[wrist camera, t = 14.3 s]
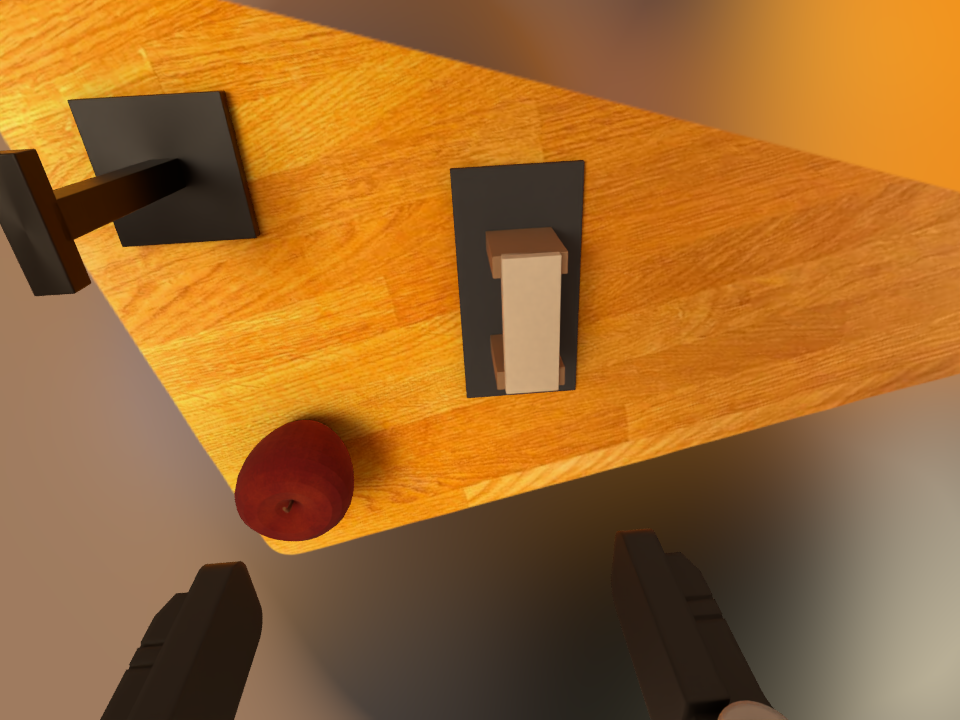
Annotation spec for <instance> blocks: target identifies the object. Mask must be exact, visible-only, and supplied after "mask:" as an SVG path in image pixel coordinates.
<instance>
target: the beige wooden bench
mask: <svg viewBox="0 0 960 720" xmlns="http://www.w3.org/2000/svg"><path fill="white" fill-rule="evenodd" d="M485 235H486V251H487V256H488V260H489V264H490V268H491V272H492V277H493V279H496V278H501V293H502V322H503V334H498V335H490V343H491V355H492V361H493V366H494V372H495V378H496V384H497V389H498V390H503V389H505V391H506V394H516V393H529V392H543V391H556V390H559V385H564V384H565V366H564V364H563V361H562V359H561V357H560V354H559V346H560V302H561V274H567V273H568V251H567V249H566V248H565V247H564V245H563V244H562V242H561V241H560V239H559V238H558V236H557V235H556V233H555V232H554V230H553V229H552V227H542V228H527V229H512V230H497V231H486V232H485Z"/></svg>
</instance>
